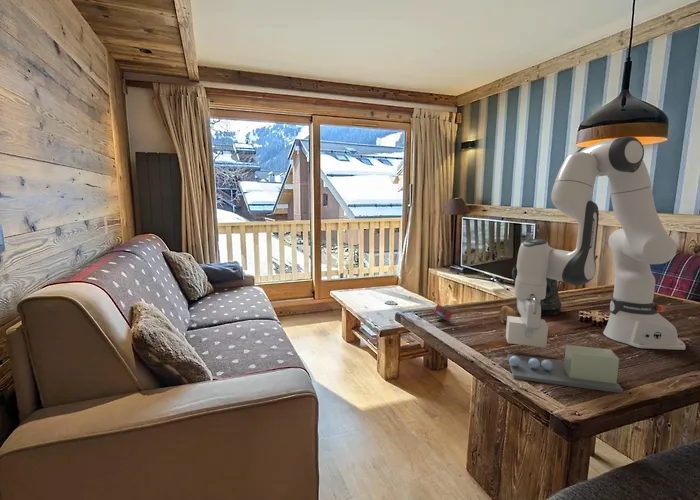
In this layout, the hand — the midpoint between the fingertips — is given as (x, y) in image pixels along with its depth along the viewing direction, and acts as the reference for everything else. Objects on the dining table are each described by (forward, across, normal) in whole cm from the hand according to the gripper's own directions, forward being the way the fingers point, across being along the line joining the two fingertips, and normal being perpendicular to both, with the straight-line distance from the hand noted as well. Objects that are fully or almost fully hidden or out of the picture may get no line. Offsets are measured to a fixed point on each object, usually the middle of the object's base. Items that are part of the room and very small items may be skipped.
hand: (526, 332), depth 117 cm
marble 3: (+6, -13, -4) cm, 15 cm away
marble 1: (+5, -13, +3) cm, 14 cm away
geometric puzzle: (+7, +23, +27) cm, 36 cm away
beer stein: (+7, +49, -12) cm, 51 cm away
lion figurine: (+7, +26, 0) cm, 27 cm away
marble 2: (+6, -13, 0) cm, 14 cm away
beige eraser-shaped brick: (+3, 0, 0) cm, 3 cm away
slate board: (+7, -12, -7) cm, 16 cm away
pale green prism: (+6, -13, -14) cm, 20 cm away
